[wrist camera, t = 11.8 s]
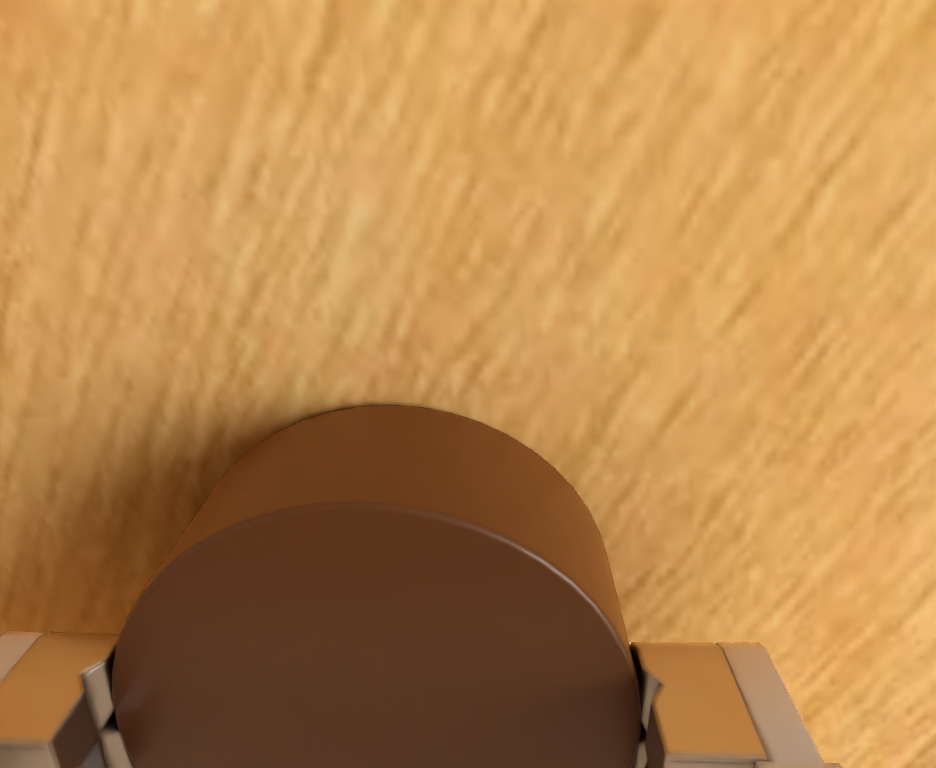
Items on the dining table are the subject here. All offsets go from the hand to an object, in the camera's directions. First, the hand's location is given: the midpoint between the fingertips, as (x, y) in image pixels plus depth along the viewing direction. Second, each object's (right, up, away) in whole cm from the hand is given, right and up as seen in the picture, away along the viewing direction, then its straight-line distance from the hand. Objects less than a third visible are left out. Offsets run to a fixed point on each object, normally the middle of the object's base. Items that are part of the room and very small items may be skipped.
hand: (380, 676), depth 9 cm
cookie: (0, +1, +2) cm, 2 cm away
